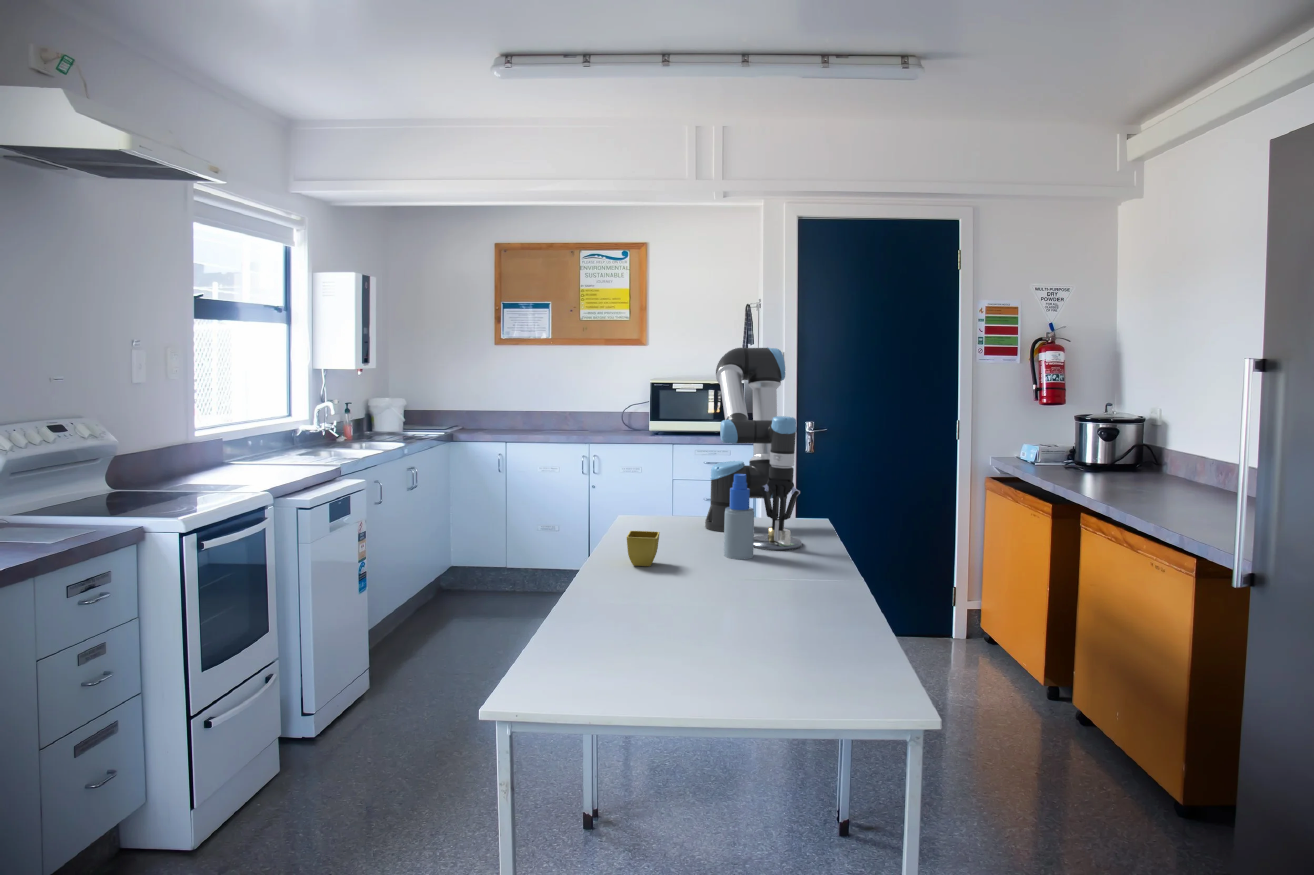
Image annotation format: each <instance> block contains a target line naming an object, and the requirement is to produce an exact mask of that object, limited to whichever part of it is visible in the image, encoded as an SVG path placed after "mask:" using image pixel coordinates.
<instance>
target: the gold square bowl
mask: <svg viewBox="0 0 1314 875" xmlns="http://www.w3.org/2000/svg"><path fill="white" fill-rule="evenodd" d="M660 533H661V532H660V531H651V530H650V531H649V530H647V531H646V530H645V531H644V530H629V532H628V534H627V535H626V546H627V553H628V558H629V560H630V563H631V564H632V566H634V567H651V566H652V565H653V561H655V558H656V556H657V552H658V549H659V548H658V547H659V543H660V542H659V540H660Z"/></svg>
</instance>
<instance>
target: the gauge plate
mask: <svg viewBox="0 0 1314 875" xmlns="http://www.w3.org/2000/svg"><path fill="white" fill-rule="evenodd" d="M754 548H755V549H758V550H762V551H763V550H764V551H772V552H773V551H774V552H775V551H776V552H778V551H780V552H781V551H782V552H784V551H785V552H786V551H794V550H798V549H801V548H802V541H801V540H800V539H799V538H796V537H793V536H790V545H784V544H782V543H780V542H774V541H769V540H768V534H767V535H766V534H764V535H754V547H753V549H754Z"/></svg>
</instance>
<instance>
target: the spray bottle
mask: <svg viewBox="0 0 1314 875" xmlns="http://www.w3.org/2000/svg"><path fill="white" fill-rule="evenodd" d="M750 499H751V498H750V489H749V488H747V483H746V474H734V482H733V488H730V507H727V508H726V509H725V524H724V531H723V532H724V536H723V540H724V541H723V556H724V557H726V558H728V559H733V560H748V559H752V558H754V537H755V534H754V533H755V511H754V510H755V509H754V508H753V507H750Z"/></svg>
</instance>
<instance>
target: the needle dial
mask: <svg viewBox="0 0 1314 875" xmlns="http://www.w3.org/2000/svg"><path fill="white" fill-rule="evenodd" d="M767 528H768V529H767V535H768V540H769V541H774V533H775V530H773V529H772V525H771V526H768V527H767ZM790 537H791V530H789V529H787V528H785V527H784V529H783V530H782V531H781V536H780V540H779V541H774V542H780V543H782V544H784V545H790Z"/></svg>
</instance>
